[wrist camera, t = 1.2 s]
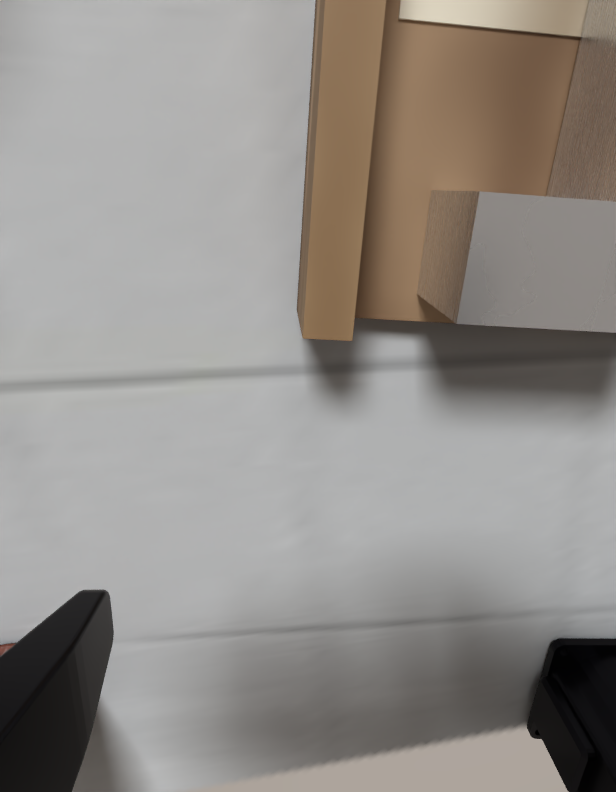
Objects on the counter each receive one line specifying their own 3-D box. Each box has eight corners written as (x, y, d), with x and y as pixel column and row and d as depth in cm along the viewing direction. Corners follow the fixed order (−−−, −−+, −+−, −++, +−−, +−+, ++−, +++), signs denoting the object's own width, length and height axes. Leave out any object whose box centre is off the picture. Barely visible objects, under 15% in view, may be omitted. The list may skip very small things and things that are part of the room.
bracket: (613, 305, 20) (705, 337, 15) (416, 293, 19) (456, 323, 15) (706, -21, 16) (859, -95, 12) (466, -49, 15) (537, -136, 11)
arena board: (925, -386, 14) (975, -431, 13) (692, 331, 21) (713, 338, 20) (345, -488, 13) (351, -547, 12) (296, 309, 20) (298, 315, 19)
